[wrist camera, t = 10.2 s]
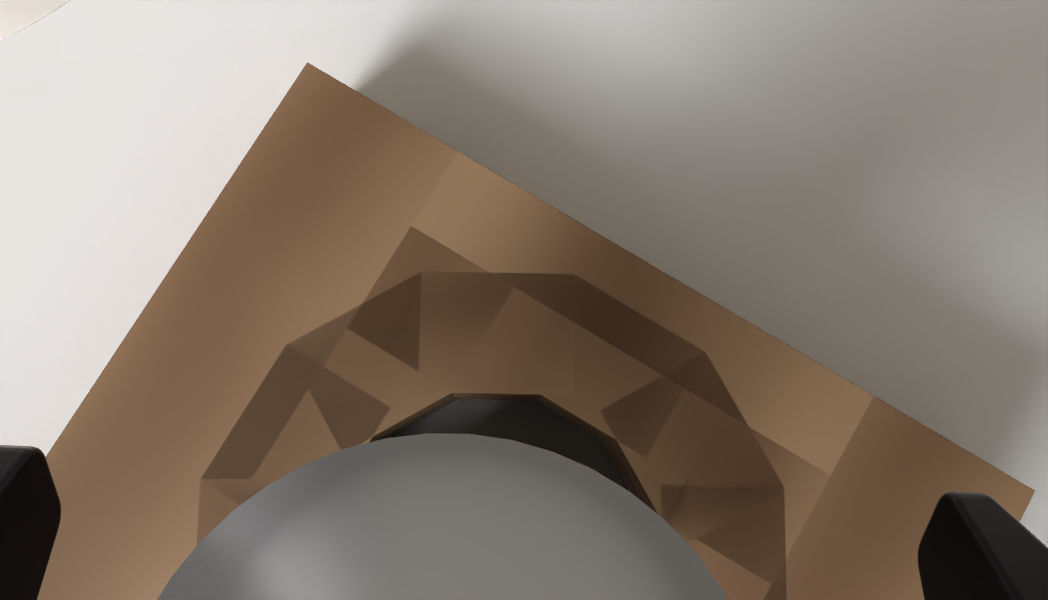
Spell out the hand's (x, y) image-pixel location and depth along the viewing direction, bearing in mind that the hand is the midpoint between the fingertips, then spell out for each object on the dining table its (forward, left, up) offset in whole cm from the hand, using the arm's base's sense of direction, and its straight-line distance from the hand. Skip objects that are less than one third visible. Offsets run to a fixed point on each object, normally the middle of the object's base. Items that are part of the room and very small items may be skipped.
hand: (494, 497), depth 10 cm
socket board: (-1, +1, -9) cm, 9 cm away
